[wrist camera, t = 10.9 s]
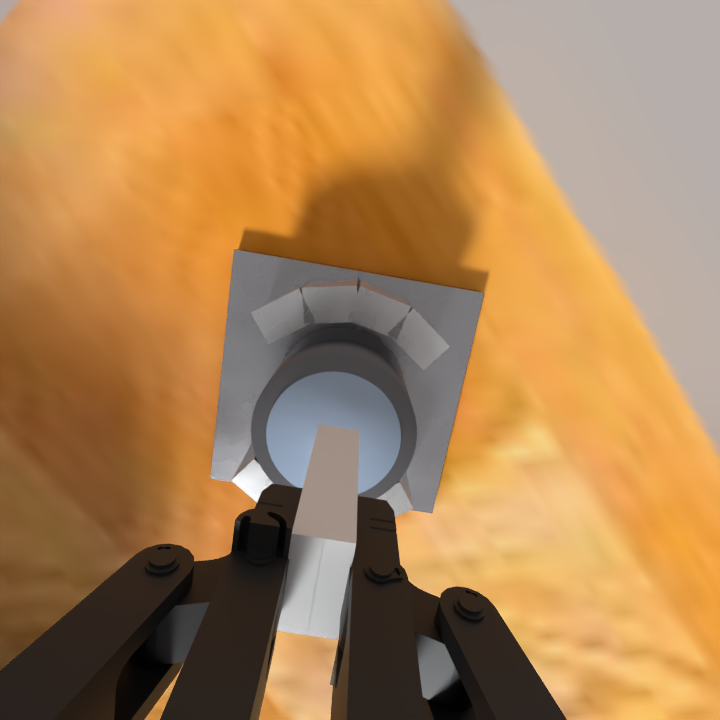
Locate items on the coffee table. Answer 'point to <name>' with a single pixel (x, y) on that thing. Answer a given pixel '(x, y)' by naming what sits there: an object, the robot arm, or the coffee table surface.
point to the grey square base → (342, 310)
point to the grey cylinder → (336, 409)
